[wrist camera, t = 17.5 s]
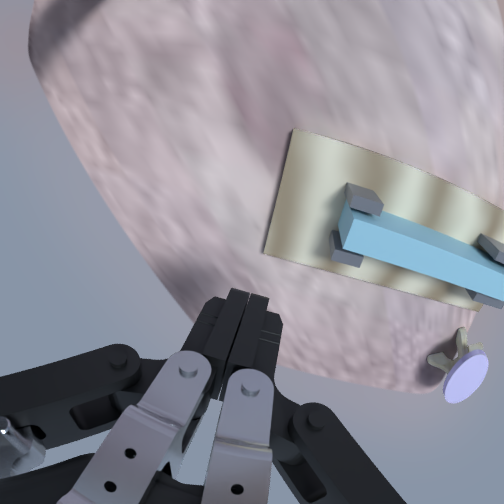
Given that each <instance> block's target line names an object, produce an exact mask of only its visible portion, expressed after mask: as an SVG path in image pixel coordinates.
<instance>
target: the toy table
mask: <svg viewBox="0 0 504 504" xmlns="http://www.w3.org/2000/svg"><path fill="white" fill-rule="evenodd" d="M456 344H457V348H458V357H457V358H456V359H455V360H450V359H448V358H447V357H446V356H445V355H444V353H443V352H441V353H436V354H432V355H428V357H427V361H428V363H429V364H430V365H432V366H434V367H437V368H440V369H442V370H443V371H444V372H446V373H447V374H448V375H447V377H446V380H445V382H444V387H443V393H444V396H445V399H446V401H447V402H449V403H458V402H460V401H462V400H464V399H466V398H467V397H469V396H470V395H471V394H472V393H473V392H474V391H475V390H476V389H477V388H478V387H479V386H480V384H481V383H482V381H483V379H484V377H485V375H486V373H487V369H488V359H487V357H486V354H485V353H484V352H483V351H482V349H483V345H482V343H480V342H479V343H476V344H472V345H469V346H468V347H467V333H466V329H465V327H462V328H459V329H458V333H457V337H456Z"/></svg>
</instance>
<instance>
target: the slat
mask: <svg viewBox="0 0 504 504" xmlns="http://www.w3.org/2000/svg"><path fill="white" fill-rule="evenodd" d="M338 228H339V233H340V237H341V242H342V247H343V249H345V250H349V251H352V252H355V253H359V254H362V255H365V256H368V257H372V258H375V259H378V260H381V261H385V262H388V263H391V264H394V265H397V266H400V267H404V268H407V269H410V270H413V271H416V272H419V273H422V274H425V275H428V276H431V277H434V278H437V279H440V280H443V281H446V282H449V283H452V284H455V285H458V286H461V287H464V288H467V289H470V290H473V291H476V292H479V293H482V294H484V295H487V296H490V297H493V298H496V299H499V300H501V301H504V265H503V264H502V263H500V262H498V261H496V260H494V259H493V257H492V256H491V255H490V254H489V253H487V252H484V251H482V250H480V249H478V248H476V247H473V246H471V245H469V244H466V243H464V242H462V241H460V240H457V239H455V238H452V237H450V236H448V235H445V234H443V233H440V232H438V231H435V230H433V229H430V228H428V227H425V226H423V225H420V224H417V223H415V222H412V221H410V220H407V219H404V218H402V217H399V216H396V215H393V214H391V213H388V212H385V211H382V212H381V215H380V217H379V216H376V215H373V214H370V213H367V212H364V211H360V210H357V209H354V208H351V207H349V204H348V202H347V199H346V201H345V204H344V207H343V210H342V213H341V216H340V219H339V222H338Z"/></svg>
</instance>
